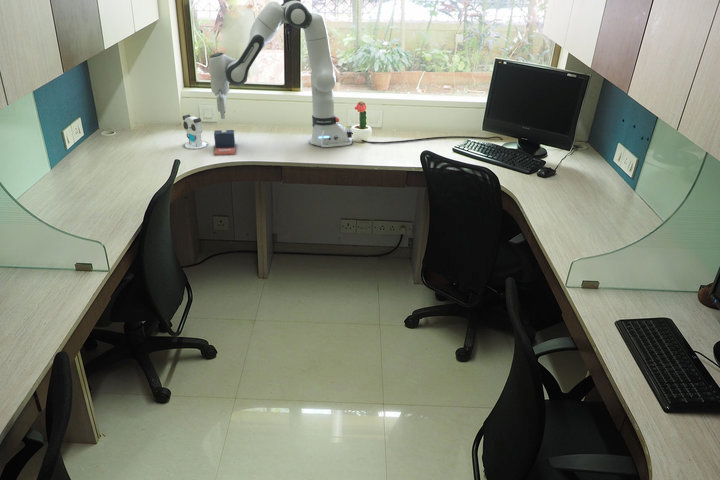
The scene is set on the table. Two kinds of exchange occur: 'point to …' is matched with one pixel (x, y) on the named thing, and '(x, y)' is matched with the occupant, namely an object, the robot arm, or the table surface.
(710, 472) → the table surface
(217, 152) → the tissue packet
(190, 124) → the panda figurine
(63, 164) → the table surface
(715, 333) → the table surface
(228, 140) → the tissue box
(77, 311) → the table surface
